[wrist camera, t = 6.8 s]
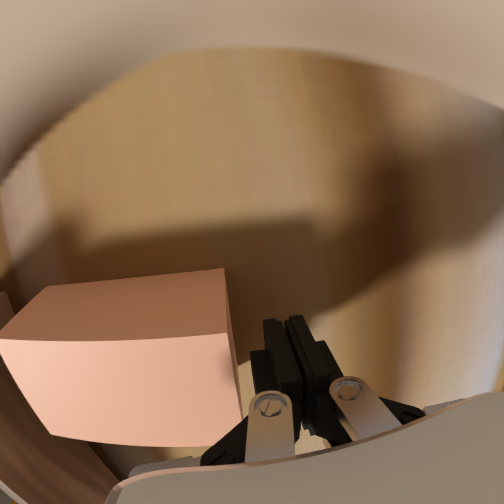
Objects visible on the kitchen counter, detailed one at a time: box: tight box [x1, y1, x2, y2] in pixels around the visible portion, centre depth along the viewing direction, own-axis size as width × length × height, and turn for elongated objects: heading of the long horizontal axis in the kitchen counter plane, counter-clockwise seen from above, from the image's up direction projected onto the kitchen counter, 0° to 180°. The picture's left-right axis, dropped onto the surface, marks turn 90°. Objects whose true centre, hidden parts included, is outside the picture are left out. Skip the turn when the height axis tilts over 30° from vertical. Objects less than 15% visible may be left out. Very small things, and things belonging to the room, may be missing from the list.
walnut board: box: [0, 291, 120, 504], centre depth 12 cm, size 2×22×9 cm, turn 5°
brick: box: [0, 268, 243, 447], centre depth 12 cm, size 10×6×6 cm, turn 95°
